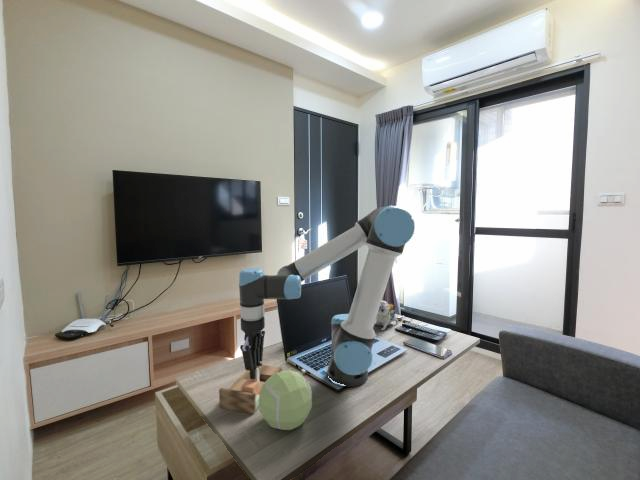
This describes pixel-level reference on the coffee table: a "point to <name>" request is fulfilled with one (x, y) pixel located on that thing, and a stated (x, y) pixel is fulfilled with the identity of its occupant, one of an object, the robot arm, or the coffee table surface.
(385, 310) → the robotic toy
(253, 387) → the cube
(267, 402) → the decorative sphere
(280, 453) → the coffee table surface
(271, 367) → the wooden box
